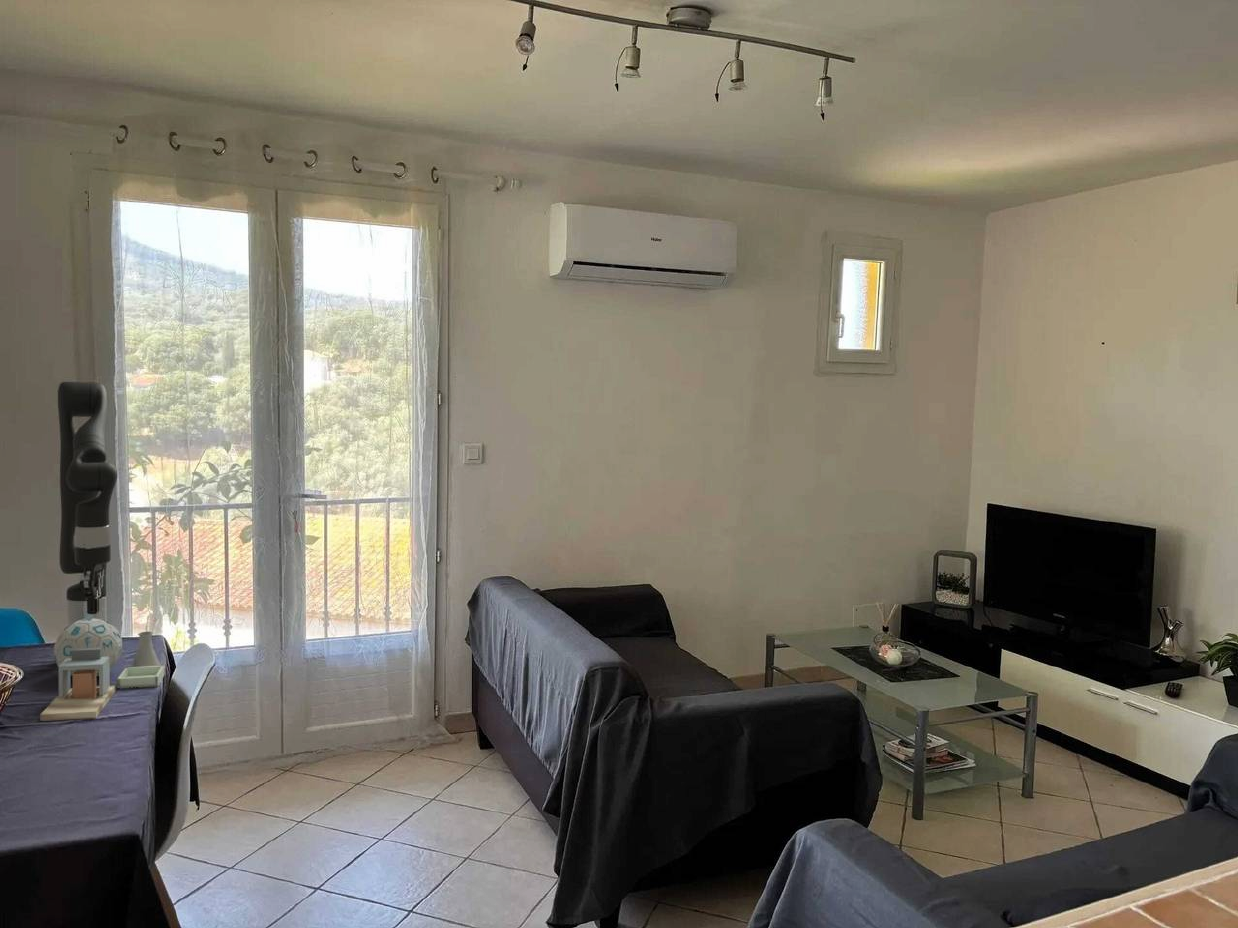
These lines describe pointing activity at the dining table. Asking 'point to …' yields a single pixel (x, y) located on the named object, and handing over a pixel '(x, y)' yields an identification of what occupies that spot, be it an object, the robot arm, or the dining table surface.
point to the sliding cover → (84, 660)
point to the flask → (145, 652)
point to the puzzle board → (76, 706)
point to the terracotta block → (84, 683)
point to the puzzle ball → (88, 640)
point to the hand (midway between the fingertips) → (93, 612)
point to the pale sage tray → (141, 677)
